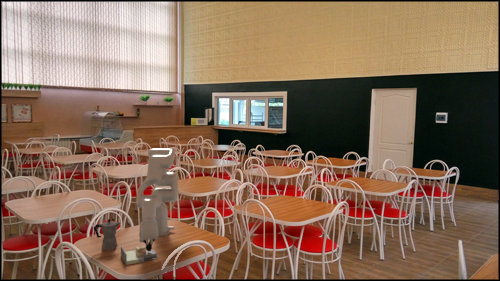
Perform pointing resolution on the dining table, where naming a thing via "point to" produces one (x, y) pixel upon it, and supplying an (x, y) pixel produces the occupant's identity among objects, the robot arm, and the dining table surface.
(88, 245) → the dining table surface
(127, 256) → the multicoloured piece
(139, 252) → the maple block
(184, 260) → the dining table surface
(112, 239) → the coffeepot
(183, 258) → the dining table surface
